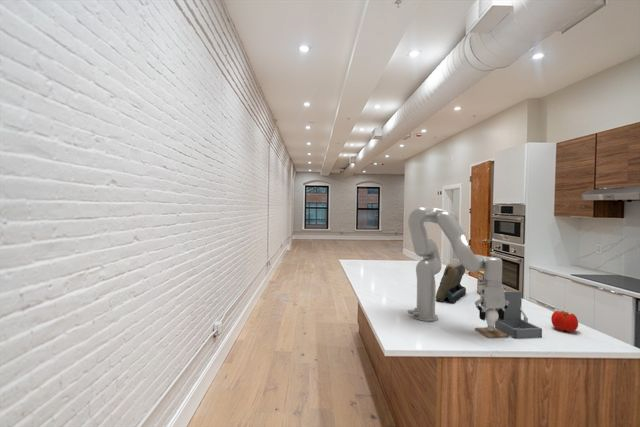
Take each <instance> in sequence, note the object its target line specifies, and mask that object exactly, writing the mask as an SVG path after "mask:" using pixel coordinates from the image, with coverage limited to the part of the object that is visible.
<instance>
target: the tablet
mask: <svg viewBox="0 0 640 427" xmlns="http://www.w3.org/2000/svg"><path fill="white" fill-rule="evenodd" d="M465 272H466V269H465V268H464V266H463V265H462V264H461V262H460V261H459V260H456V261H454V262H451V263H447V265H446V267H445V268H444V270H443V274H442V277H441V279H440V282H439V286H438V288H437V291H436V292H435V301H437V302H438V303H440V302H444V301H445V299H446V298H447V299H448V302H449V304H455V303H457V302H458V301H460V300H461V299H462V298H464V297H465V296H467V294H466V293H467V292H466V291H467V288H466V287H465V286H463V285H462V284H461V282H462V279H463V276H464V275H465Z"/></svg>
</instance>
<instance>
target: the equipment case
mask: <svg viewBox="0 0 640 427" xmlns="http://www.w3.org/2000/svg"><path fill="white" fill-rule="evenodd" d="M504 294H505V300H507V301H509V304H508V307H507V308H506V311H504V320H502V319H499V318H498V320H497V321H496V322H495V325H494V328H496V329H498V330H500V331H502V332H504V333H505V334H507V335H509V336H510V338H514V339H533V338H542V337H543V328H542V327H540V326H537V325H535V324H532V323H530V322H529V318H528V317H527V315H526V314H525V312H524V310H523V309H522V308H523V307H522V304H523V303H522V302H523V301H522V298H523V296H522V294H523V292H522V291H521V290H506V291H505V290H504ZM495 310H496V311H497V312H498V310H499V308H498V309H495ZM522 315H523V319H522Z"/></svg>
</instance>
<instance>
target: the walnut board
mask: <svg viewBox="0 0 640 427" xmlns="http://www.w3.org/2000/svg"><path fill="white" fill-rule="evenodd" d="M487 329H488V326H487V327H486V326H485V327H475V328H474V330H475V331H476V332H478V333H479V334H481V335H483V336H484V337H486V338H488V339H500V338H501V339H503V338H509V335H507V334H506V333H504V332H502V331H500V330H498V329H496V328H495V327H494V331H492V332H490V331H489V330H487Z"/></svg>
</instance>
